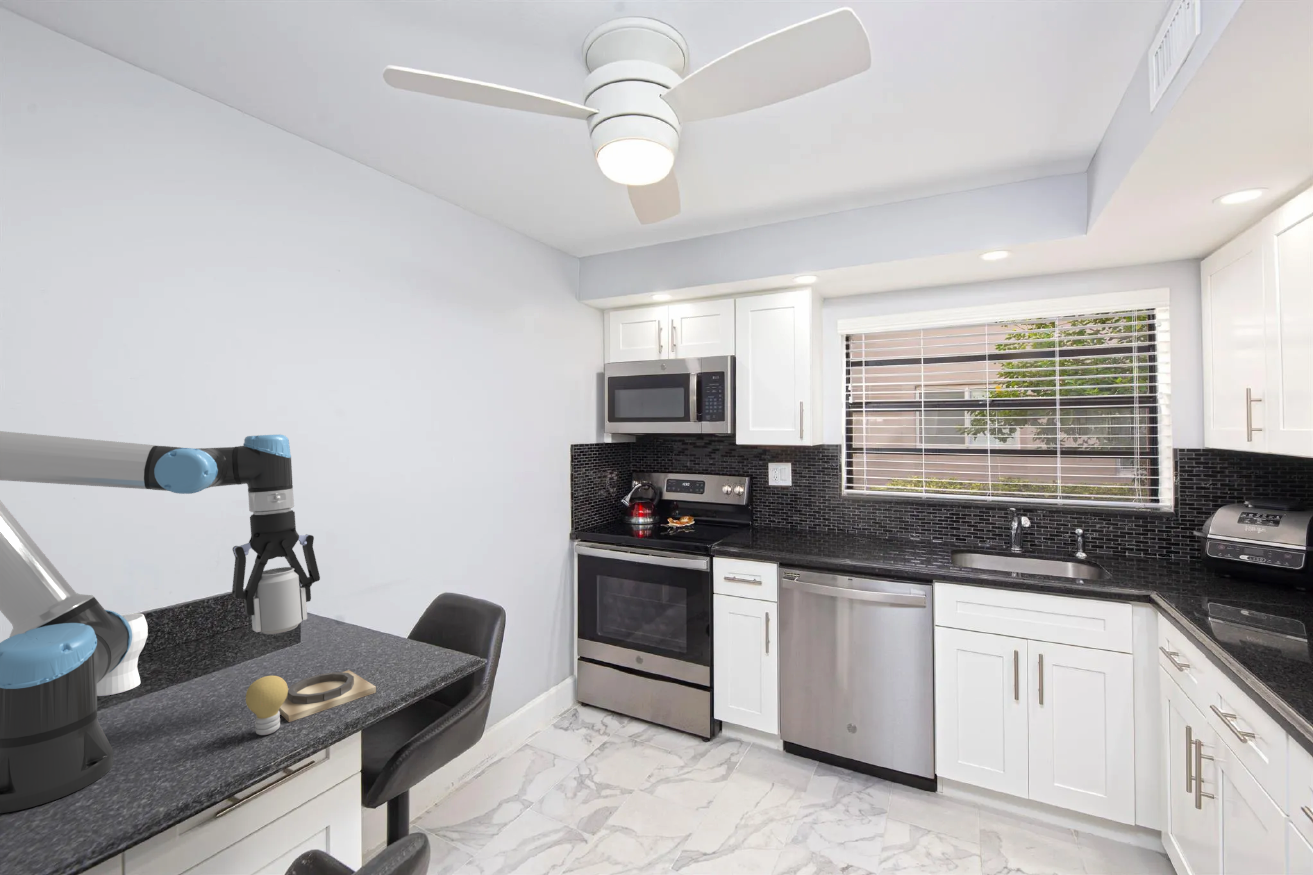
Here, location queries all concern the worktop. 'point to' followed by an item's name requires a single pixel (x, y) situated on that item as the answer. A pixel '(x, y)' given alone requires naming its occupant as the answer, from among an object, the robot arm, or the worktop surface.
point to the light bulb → (266, 702)
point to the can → (279, 600)
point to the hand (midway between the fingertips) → (280, 624)
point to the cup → (126, 660)
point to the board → (321, 706)
